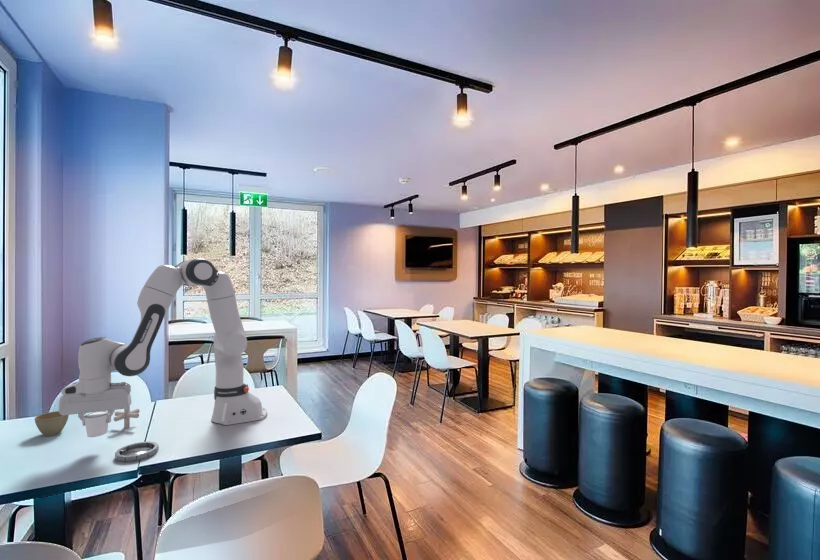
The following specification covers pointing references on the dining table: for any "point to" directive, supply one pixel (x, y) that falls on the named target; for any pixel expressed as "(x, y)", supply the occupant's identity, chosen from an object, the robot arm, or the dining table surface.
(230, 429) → the dining table surface
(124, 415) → the pipe connector
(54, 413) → the tan bowl
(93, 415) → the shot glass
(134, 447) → the bowl
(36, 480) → the dining table surface
